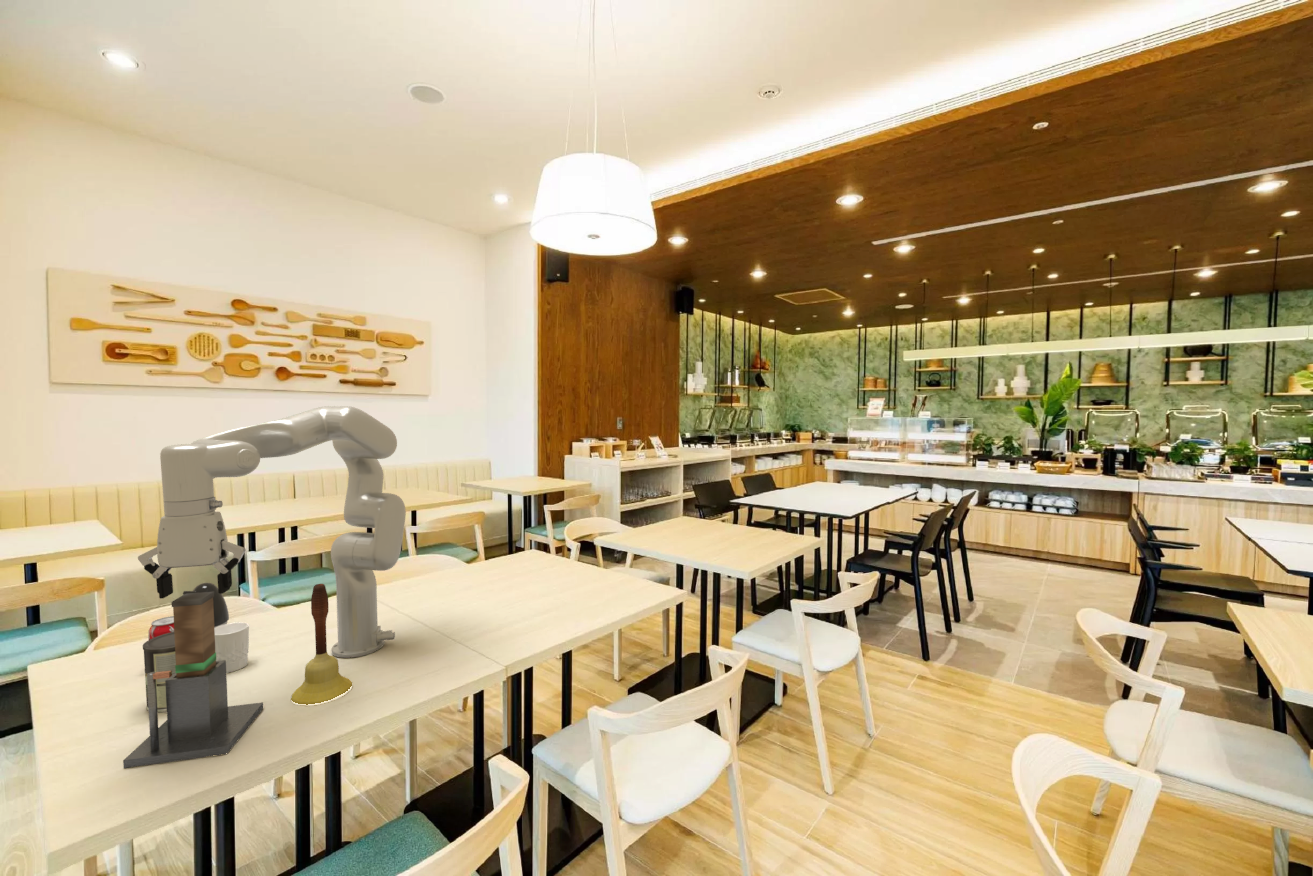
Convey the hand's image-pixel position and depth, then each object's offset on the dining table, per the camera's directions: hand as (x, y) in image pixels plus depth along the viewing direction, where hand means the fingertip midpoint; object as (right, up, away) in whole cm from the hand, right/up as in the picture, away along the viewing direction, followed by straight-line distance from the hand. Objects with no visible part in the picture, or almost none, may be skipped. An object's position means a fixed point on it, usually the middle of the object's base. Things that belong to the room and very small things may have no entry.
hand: (195, 593), depth 108 cm
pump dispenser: (-38, -26, +49) cm, 67 cm away
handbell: (+14, -28, +18) cm, 36 cm away
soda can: (-32, -27, +30) cm, 51 cm away
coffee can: (-16, -28, +14) cm, 35 cm away
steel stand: (0, -29, +1) cm, 29 cm away
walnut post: (0, -19, +1) cm, 19 cm away
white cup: (-16, -27, +30) cm, 44 cm away
